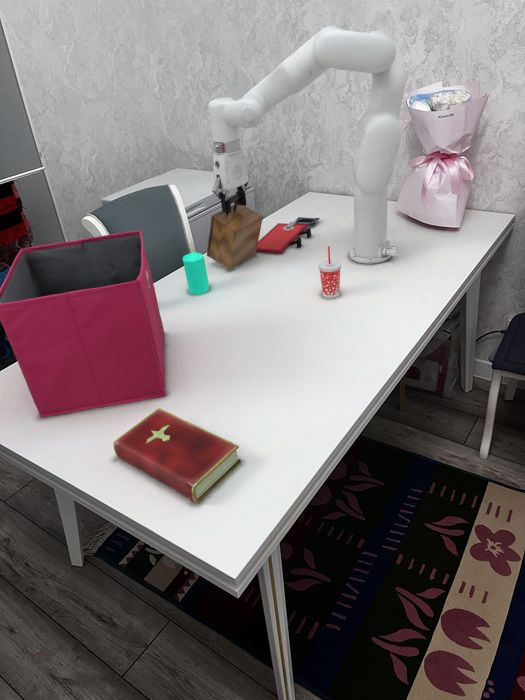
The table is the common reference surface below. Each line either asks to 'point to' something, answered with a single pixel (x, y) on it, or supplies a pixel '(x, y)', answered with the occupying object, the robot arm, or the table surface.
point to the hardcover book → (178, 453)
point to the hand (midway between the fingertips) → (234, 208)
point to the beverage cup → (330, 277)
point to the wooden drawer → (234, 235)
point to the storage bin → (85, 323)
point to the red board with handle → (285, 235)
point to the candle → (196, 273)
